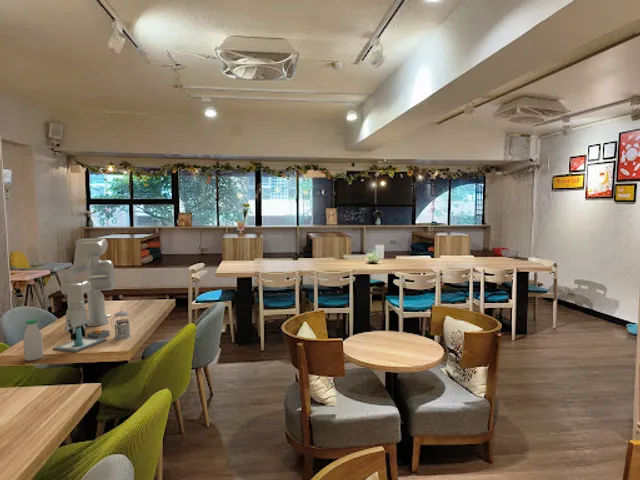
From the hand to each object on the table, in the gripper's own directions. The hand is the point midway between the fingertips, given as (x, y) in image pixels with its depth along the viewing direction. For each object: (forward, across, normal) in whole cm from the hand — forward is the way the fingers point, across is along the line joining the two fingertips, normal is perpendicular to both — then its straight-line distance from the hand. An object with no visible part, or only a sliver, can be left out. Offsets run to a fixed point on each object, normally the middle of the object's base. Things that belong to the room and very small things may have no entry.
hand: (78, 337), depth 221 cm
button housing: (+5, -17, -4) cm, 18 cm away
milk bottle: (+5, +19, -8) cm, 21 cm away
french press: (+5, -21, +9) cm, 23 cm away
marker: (+4, 0, 0) cm, 4 cm away
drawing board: (+5, -3, -2) cm, 6 cm away
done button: (+4, -17, -4) cm, 18 cm away
